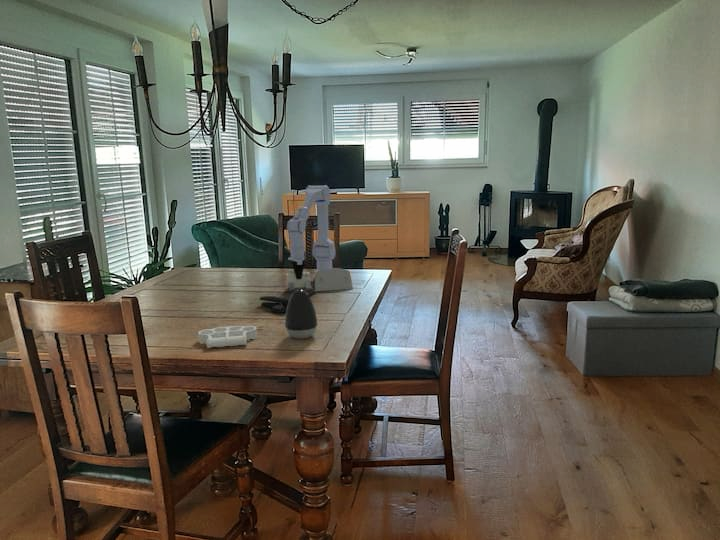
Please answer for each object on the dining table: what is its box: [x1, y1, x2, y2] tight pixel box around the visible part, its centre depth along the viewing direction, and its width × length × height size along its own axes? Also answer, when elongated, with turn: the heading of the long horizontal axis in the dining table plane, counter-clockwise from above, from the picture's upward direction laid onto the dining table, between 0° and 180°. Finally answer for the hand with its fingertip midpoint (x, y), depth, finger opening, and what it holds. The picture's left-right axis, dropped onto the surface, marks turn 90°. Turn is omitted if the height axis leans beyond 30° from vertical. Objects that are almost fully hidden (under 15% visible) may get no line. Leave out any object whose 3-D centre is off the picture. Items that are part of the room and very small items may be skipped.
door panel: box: [286, 271, 312, 288], centre depth 236 cm, size 3×10×6 cm, turn 103°
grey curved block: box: [313, 267, 354, 292], centre depth 238 cm, size 17×5×10 cm, turn 98°
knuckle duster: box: [197, 325, 258, 349], centre depth 171 cm, size 3×18×15 cm
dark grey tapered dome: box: [284, 290, 318, 340], centre depth 172 cm, size 10×10×15 cm
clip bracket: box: [285, 280, 314, 294], centre depth 236 cm, size 7×11×4 cm, turn 103°
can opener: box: [259, 295, 290, 314], centre depth 207 cm, size 18×7×6 cm, turn 42°
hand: (298, 278), depth 236 cm, fingers closed on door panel, 2 cm apart
